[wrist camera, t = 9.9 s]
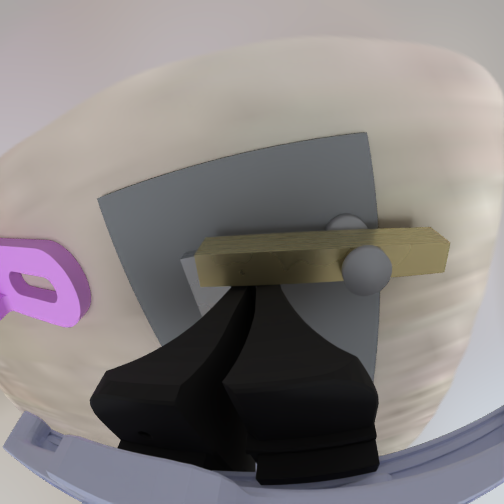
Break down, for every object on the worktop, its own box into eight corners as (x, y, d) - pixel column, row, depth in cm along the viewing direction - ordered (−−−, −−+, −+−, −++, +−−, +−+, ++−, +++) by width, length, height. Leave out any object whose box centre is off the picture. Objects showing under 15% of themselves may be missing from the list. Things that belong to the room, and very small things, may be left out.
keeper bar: (210, 265, 11) (200, 286, 9) (205, 237, 10) (194, 255, 9) (426, 254, 10) (443, 272, 8) (430, 227, 9) (450, 242, 8)
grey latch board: (370, 391, 16) (380, 436, 12) (204, 408, 18) (193, 450, 14) (363, 132, 9) (404, 135, 6) (101, 196, 12) (50, 223, 8)
